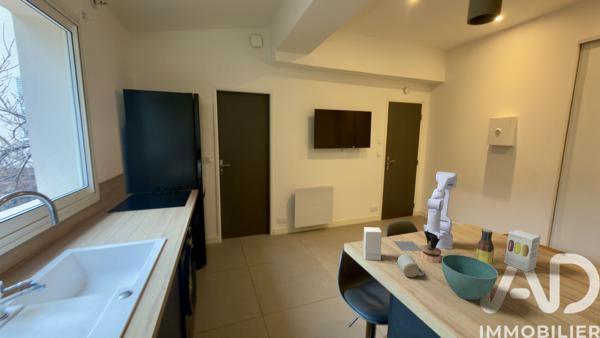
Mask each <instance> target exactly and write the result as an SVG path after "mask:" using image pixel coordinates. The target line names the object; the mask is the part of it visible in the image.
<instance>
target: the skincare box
mask: <svg viewBox="0 0 600 338" xmlns="http://www.w3.org/2000/svg"><path fill="white" fill-rule="evenodd" d="M382 234H383V232H382V230H381V228H380V227H376V226H375V227H373V226H372V227H371V226H369V227H368V226H367V227H366V226H364V227H363V246H362V254H363V258H364V260H366V261H368V260H370V261H381V260H382V237H383V235H382Z"/></svg>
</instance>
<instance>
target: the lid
mask: <svg viewBox="0 0 600 338" xmlns="http://www.w3.org/2000/svg"><path fill="white" fill-rule="evenodd" d="M419 248H420V249H421V250H422V251H423V252H425V253H428V254H431V255H440V254H442V250H441V248H431V241H429V242H428V244H423V245H421V246H420V247H419Z"/></svg>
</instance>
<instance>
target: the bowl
mask: <svg viewBox="0 0 600 338" xmlns="http://www.w3.org/2000/svg"><path fill="white" fill-rule="evenodd" d="M420 253H421V254H420V257H421V258H422V260H424V261H426V262H429V263H432V264H433V263H441V259H442V256H441V254H442V253H441V254H440V255H431V254H428V253H425V252H423V251H420Z"/></svg>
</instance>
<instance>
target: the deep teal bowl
mask: <svg viewBox="0 0 600 338" xmlns="http://www.w3.org/2000/svg"><path fill="white" fill-rule="evenodd" d="M441 268H442V273H443V275H444V276H443V277H444V278H445V281H446V283H447V284H448V287H450V289H451V290H452V292H453V293H454V294H455V295H456V296H458V297H460V298H462V299H465V300H469V301H477V300H480V299H481V298H484V297H485V296H486V295H488V294H489V293H490V292H491V290H493V288H494V286H495V285H496V283H497V280H498V276H499V273H498V271H497V269H496V268H494V267H493V266H490V265H489V264H487V263H485V262H483V261H481V260H478V259H476V258H475V257H471V256H468V255H461V254H445V255H444V256H441Z"/></svg>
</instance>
